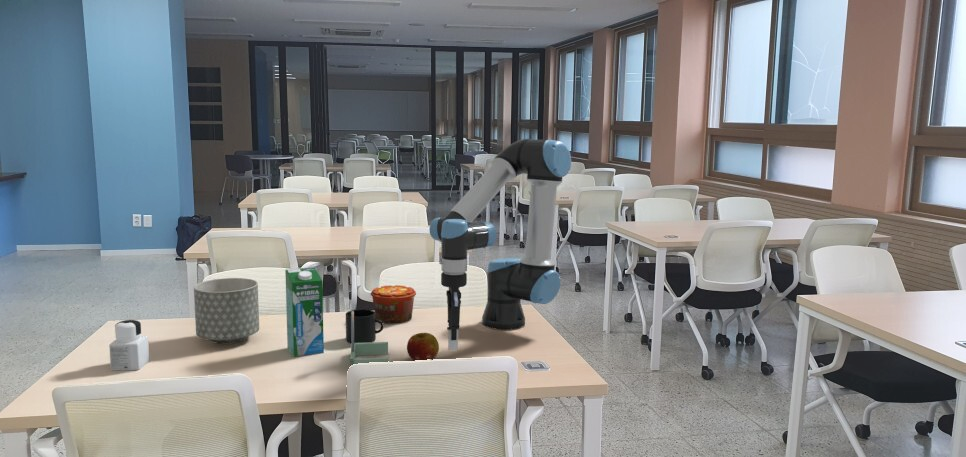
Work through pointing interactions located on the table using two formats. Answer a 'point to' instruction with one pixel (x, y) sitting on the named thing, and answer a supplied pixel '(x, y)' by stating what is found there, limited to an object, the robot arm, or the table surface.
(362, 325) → the mug
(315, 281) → the milk carton
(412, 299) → the food container
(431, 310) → the table surface
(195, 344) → the table surface
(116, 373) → the table surface
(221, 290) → the planter
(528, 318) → the table surface
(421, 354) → the fruit
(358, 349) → the long-handled green u-channel
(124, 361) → the container
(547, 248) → the robot arm
